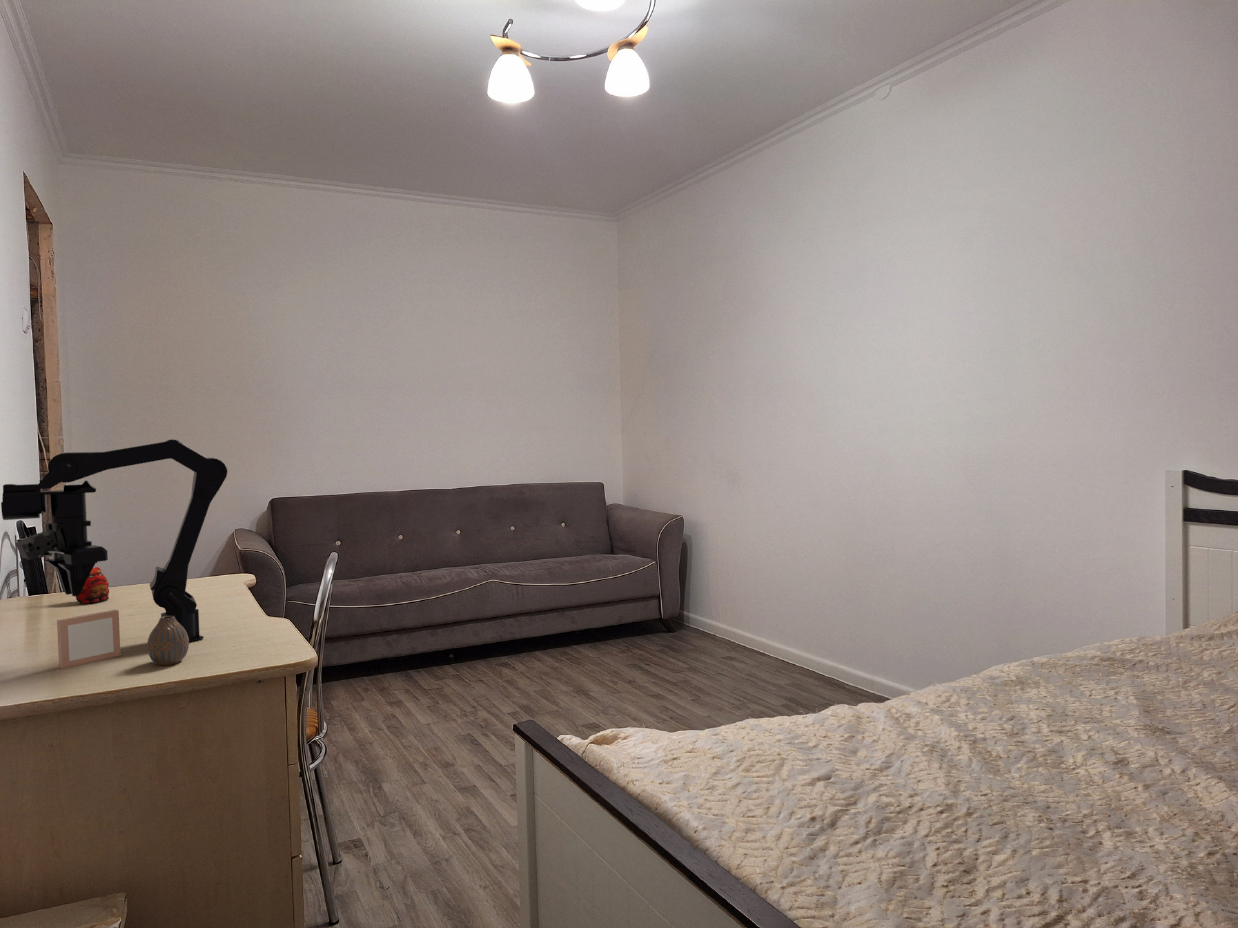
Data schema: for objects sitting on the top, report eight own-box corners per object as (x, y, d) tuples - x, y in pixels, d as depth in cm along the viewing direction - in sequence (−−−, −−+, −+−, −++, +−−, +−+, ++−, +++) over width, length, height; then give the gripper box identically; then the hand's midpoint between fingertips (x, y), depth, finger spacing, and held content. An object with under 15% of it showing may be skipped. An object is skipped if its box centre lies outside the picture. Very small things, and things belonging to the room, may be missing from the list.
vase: (196, 656, 155) (194, 612, 155) (178, 667, 148) (176, 621, 148) (160, 657, 155) (158, 613, 154) (140, 668, 148) (138, 621, 148)
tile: (117, 654, 158) (115, 609, 157) (120, 655, 157) (118, 610, 156) (59, 667, 150) (56, 619, 149) (62, 668, 149) (60, 621, 148)
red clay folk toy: (88, 605, 201) (85, 547, 201) (67, 604, 203) (65, 546, 203) (115, 599, 209) (113, 542, 208) (95, 598, 211) (93, 541, 210)
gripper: (1, 517, 155) (5, 597, 155) (39, 523, 144) (43, 609, 145) (67, 512, 164) (70, 587, 165) (107, 517, 153) (110, 597, 154)
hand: (72, 595), depth 157 cm, fingers open, 3 cm apart
